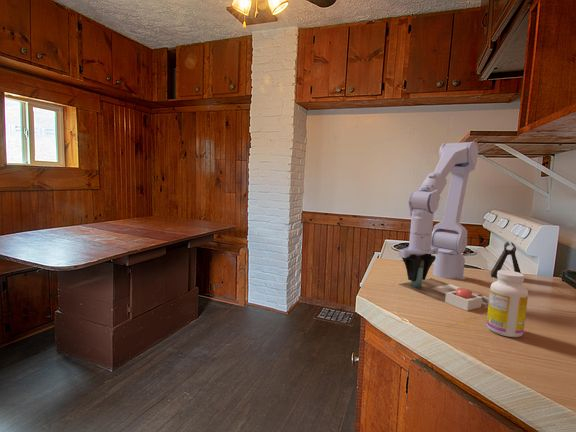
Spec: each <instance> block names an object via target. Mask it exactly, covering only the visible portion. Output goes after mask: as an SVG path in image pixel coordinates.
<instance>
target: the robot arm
mask: <svg viewBox="0 0 576 432" xmlns="http://www.w3.org/2000/svg"><path fill="white" fill-rule="evenodd" d="M478 157H479V147H478V144H477V143H476V142H475V141H474V140H473V141H470V142H469V141H468V142H464V141H463V142H443V143H442V144H441V146H440V147H439V150H438V159H439V161H438V163H437V164H436V167H435V169H434V171H433V172H430V173H428V175H427V176H426V177H425V179H424V181H423V182H422V184H421V185H420V187H419V189H418V190H416V191H414V192H412V193H411V194H410V196H409V199H408V208H409V216H410V218H411V219H410V220H411V221H410V229H409V243H408V244H409V245H408V246H407V247H405V248H401V249H399V250H398V257H400V258H401V259H402V261H403V263H404V265H405V269H406V275H407V278H408V281H410V282H411V281H413V282H415V281H416V279H417V273H418V269H419V266H420V264H421V262H422V259H424V267H423V277H422V280H425V279H427V276H428V274H429V273H428V272H429V270H430V268H431V266H432V265H433V268H432V275H433V276H435V277H438V278H441V279H448V280H454V279H458V280H462V281H463V280H466V276H465V277H464V273H465V272H464V271H465V262H466V259H465V256H464V254H463V253H464V252H465V251H466V249H467V245H468V230H467V229H466V227H464V226H463V225H462V224H461V223H460V222H461V218H462V212H463V206H464V201H465V196H466V195H465V194H466V190H467V185H468V179H469V176H470V175H469V174H470V173H471V172H473V171H475V169H476V165H477V162H478ZM449 174H451V176H450V181H449V187H448V191H447V192H448V193H447V198H446V201H445V207H444V212H443V213H444V214H443V217H442V221H440V222H438V223H436V224H435V225H434V226H433V224H434V214H435V213H436V212H437V210H438V209H439V205H440V200H441V194H442V192H443V190H444V189H445V188H446V186H447V183H448V180H447V177H448V176H449ZM418 258H420V259H418Z"/></svg>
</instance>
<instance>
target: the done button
mask: <svg viewBox="0 0 576 432" xmlns="http://www.w3.org/2000/svg"><path fill="white" fill-rule="evenodd" d="M472 292H473V291H472V290H470V289H468V288H462V287H460V288H457V291H456V295H457V296H460V297H462V298H465V299H470V298H472Z"/></svg>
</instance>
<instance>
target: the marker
mask: <svg viewBox="0 0 576 432" xmlns="http://www.w3.org/2000/svg"><path fill="white" fill-rule="evenodd" d="M418 259H420V258H418ZM423 267H424V259H422V262H421V264H420V266H419V269H418V273H417V279H416V281H415V282H413V281H411V280H410V282H411V285H410V286H411V287H414V288H421V287H422V277H423Z"/></svg>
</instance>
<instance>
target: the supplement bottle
mask: <svg viewBox="0 0 576 432" xmlns="http://www.w3.org/2000/svg"><path fill="white" fill-rule="evenodd" d="M496 279H497V280H496V281H493V282H492V283H491V284H490V287H489V295H488V297H489V304H488V306H487V314H486V315H487V316H486V327H487V328H488V329H489V331H491V332H492V333H495V334H497V335H499V336H504V337H508V338H509V337H510V338H520V337H522V336H523V335H524V330H525V323H526V314H527V308H528V307H527V305H528V298H529V291H528V289H527V287H525V286H524V285H523V283H524V281H525V275H524V274H523V273H518V272H514V270H508V269H507V270H506V269H501V270H498V272H497V278H496Z"/></svg>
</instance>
